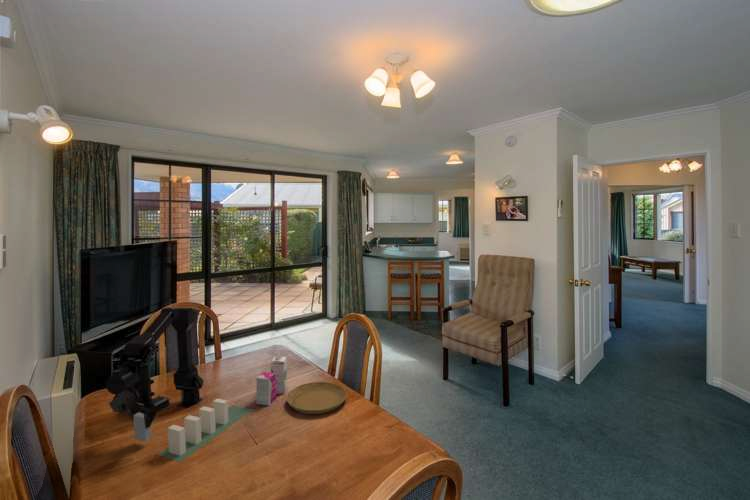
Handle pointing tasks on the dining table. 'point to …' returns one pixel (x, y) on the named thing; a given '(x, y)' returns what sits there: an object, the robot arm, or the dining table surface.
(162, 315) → the robot arm
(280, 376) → the syrup box
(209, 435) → the strip
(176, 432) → the domino
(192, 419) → the domino
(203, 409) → the domino
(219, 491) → the dining table surface
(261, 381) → the supplement box
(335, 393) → the plant saucer
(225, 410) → the domino
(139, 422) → the slate domino
